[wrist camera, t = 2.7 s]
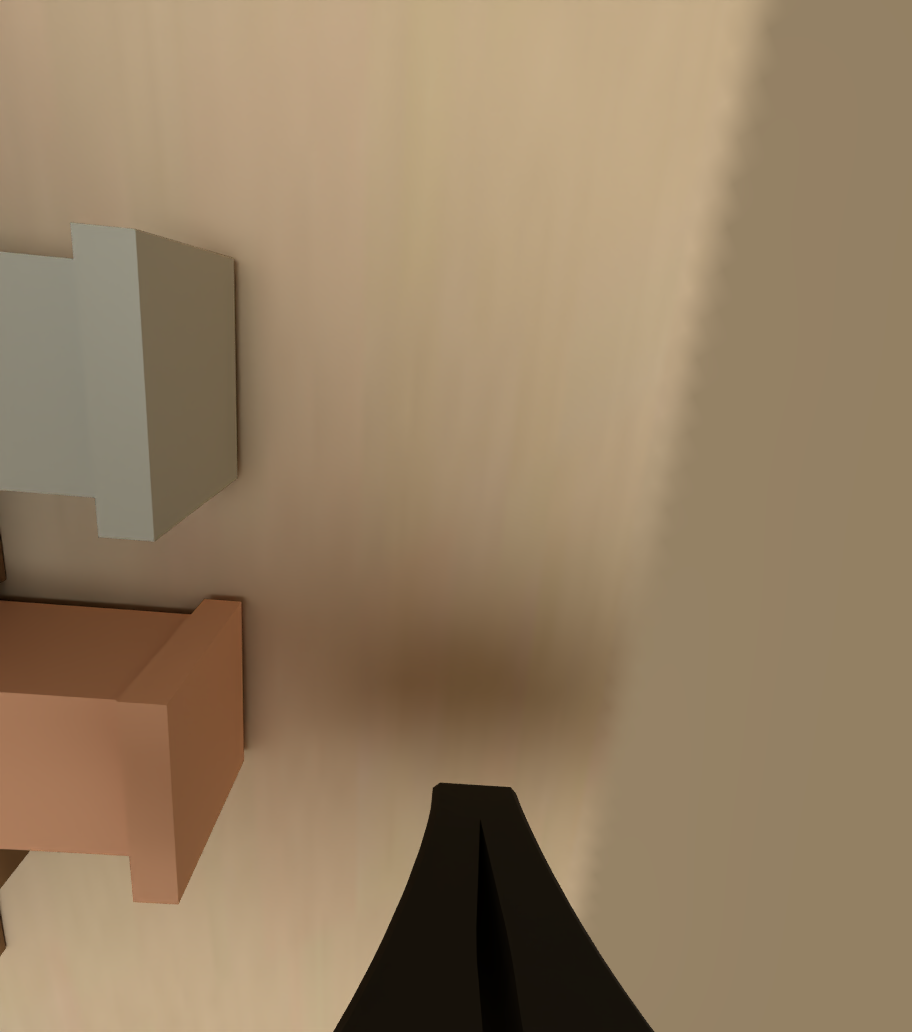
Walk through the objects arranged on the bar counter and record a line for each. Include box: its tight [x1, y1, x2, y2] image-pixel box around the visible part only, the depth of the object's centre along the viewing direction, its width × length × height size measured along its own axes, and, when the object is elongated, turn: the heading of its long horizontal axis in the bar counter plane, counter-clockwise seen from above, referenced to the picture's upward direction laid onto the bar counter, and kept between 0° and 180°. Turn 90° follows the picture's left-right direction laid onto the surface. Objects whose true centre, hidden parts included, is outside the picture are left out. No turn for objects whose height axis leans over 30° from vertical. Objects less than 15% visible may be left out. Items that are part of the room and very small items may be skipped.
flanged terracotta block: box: [0, 599, 244, 904], centre depth 12 cm, size 7×4×4 cm, turn 85°
